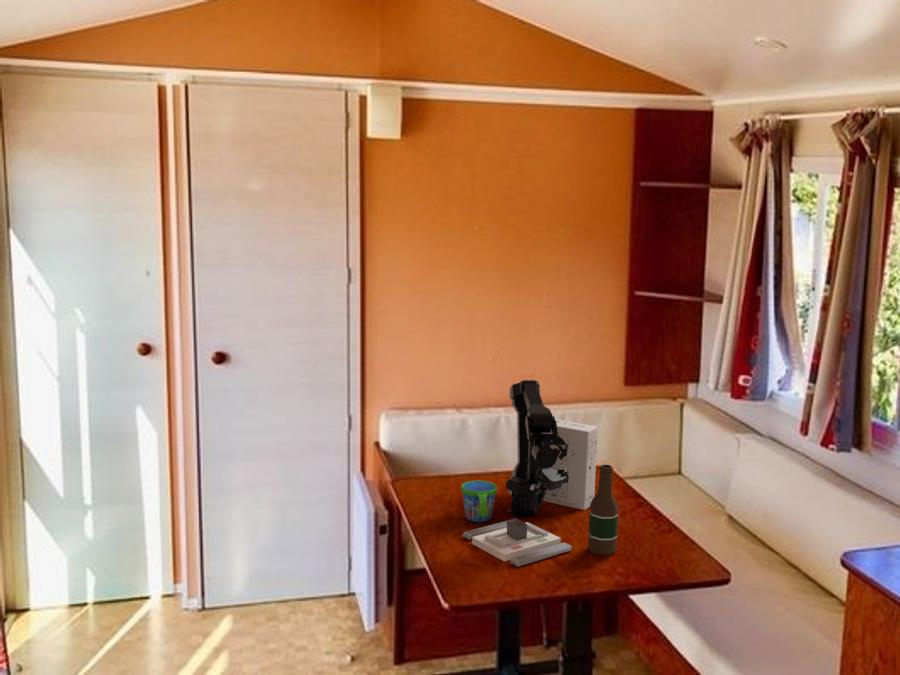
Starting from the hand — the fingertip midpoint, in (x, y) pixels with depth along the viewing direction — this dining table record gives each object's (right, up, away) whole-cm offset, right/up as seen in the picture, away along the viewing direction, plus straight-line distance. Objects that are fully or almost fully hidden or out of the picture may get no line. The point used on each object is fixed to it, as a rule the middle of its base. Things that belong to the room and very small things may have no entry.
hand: (536, 510), depth 251 cm
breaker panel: (-6, -9, -3) cm, 11 cm away
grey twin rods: (-6, -9, -3) cm, 11 cm away
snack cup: (-16, -6, +16) cm, 23 cm away
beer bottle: (+17, -10, -6) cm, 21 cm away
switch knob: (-6, -7, -3) cm, 9 cm away
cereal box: (+10, -3, +33) cm, 35 cm away
